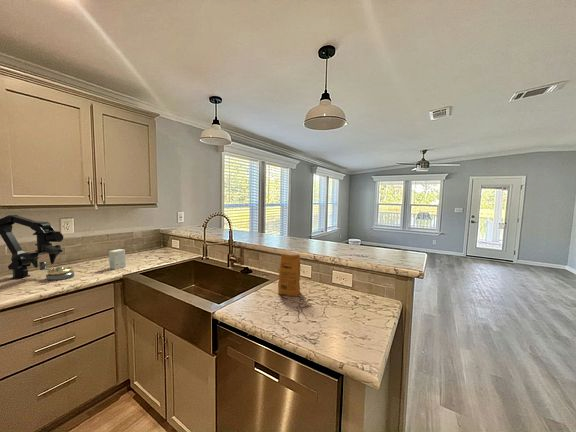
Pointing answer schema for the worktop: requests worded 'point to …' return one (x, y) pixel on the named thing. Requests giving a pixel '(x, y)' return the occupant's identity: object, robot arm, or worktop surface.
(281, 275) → the coffee package
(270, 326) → the worktop surface
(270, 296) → the worktop surface
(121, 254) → the small box
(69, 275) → the housing
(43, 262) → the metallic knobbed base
